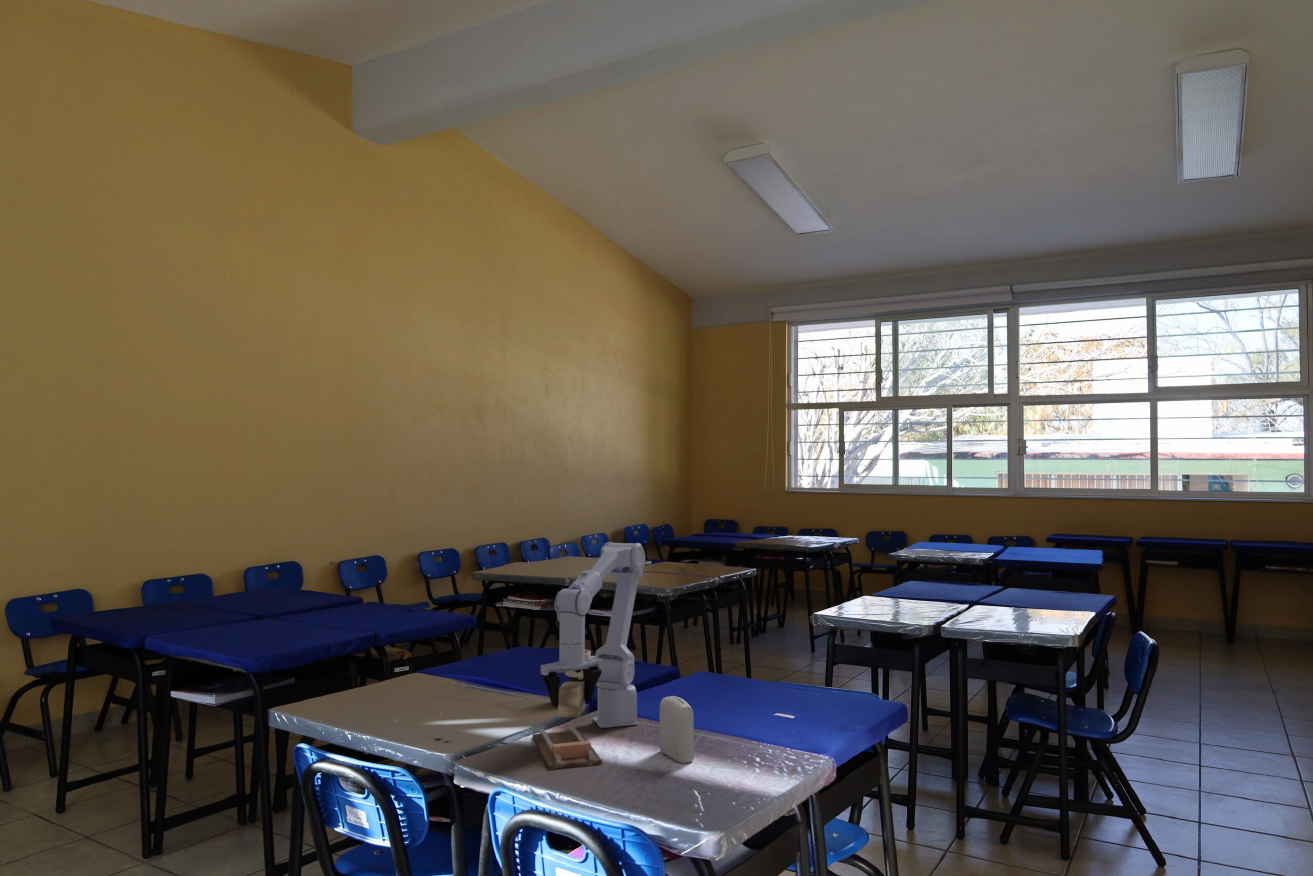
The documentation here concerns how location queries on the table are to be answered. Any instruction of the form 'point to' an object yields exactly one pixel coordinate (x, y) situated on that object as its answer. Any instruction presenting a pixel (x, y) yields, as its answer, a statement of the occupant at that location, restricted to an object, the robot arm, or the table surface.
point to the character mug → (578, 671)
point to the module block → (571, 699)
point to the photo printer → (677, 729)
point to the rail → (556, 755)
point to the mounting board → (565, 762)
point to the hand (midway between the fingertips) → (571, 703)
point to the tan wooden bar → (571, 749)
